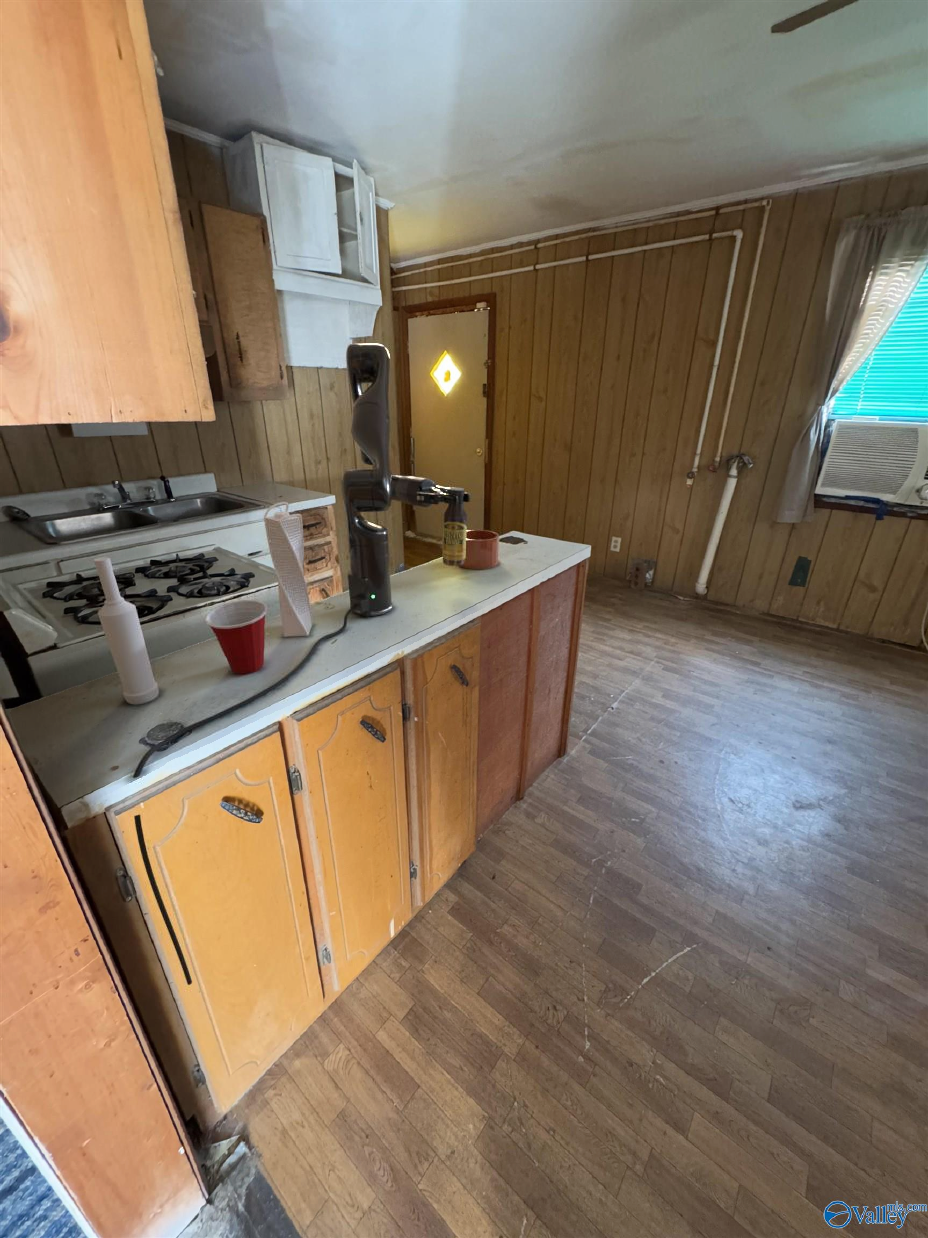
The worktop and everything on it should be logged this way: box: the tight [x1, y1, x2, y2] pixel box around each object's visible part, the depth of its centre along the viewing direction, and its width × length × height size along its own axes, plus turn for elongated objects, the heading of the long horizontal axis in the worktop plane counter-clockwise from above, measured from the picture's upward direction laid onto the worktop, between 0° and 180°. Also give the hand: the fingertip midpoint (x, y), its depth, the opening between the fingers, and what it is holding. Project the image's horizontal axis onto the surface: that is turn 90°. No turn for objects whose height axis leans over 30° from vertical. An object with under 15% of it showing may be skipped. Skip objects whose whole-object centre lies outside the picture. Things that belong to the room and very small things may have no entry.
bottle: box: [93, 556, 160, 706], centre depth 82 cm, size 5×5×25 cm
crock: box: [459, 529, 500, 570], centre depth 156 cm, size 13×13×9 cm
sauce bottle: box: [441, 487, 468, 567], centre depth 131 cm, size 6×6×20 cm
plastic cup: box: [203, 599, 268, 675], centre depth 94 cm, size 11×11×12 cm
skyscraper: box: [263, 501, 314, 638], centre depth 106 cm, size 8×8×28 cm
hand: (463, 499), depth 127 cm, fingers closed on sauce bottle, 4 cm apart
